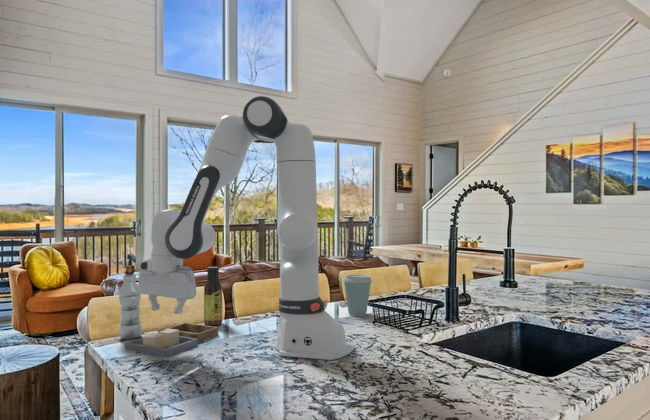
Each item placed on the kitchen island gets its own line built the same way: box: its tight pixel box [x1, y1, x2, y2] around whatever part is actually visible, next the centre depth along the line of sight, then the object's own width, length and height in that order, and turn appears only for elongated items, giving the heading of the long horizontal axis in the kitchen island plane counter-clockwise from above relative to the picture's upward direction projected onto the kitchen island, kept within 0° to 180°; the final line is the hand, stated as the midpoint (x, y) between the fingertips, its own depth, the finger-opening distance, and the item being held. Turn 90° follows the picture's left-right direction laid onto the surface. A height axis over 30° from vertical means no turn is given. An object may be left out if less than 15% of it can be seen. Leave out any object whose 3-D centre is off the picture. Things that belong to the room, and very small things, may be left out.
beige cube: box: [142, 332, 164, 349], centre depth 129 cm, size 4×4×4 cm
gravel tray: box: [124, 332, 199, 358], centre depth 131 cm, size 16×12×2 cm
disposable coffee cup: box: [343, 273, 372, 317], centre depth 171 cm, size 11×11×15 cm
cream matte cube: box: [158, 328, 179, 347], centre depth 134 cm, size 4×4×4 cm
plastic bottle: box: [118, 273, 143, 341], centre depth 142 cm, size 6×7×20 cm
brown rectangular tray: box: [163, 322, 219, 343], centre depth 143 cm, size 14×9×3 cm, turn 61°
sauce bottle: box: [203, 266, 223, 327], centre depth 160 cm, size 6×6×20 cm
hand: (166, 311), depth 134 cm, fingers open, 8 cm apart
